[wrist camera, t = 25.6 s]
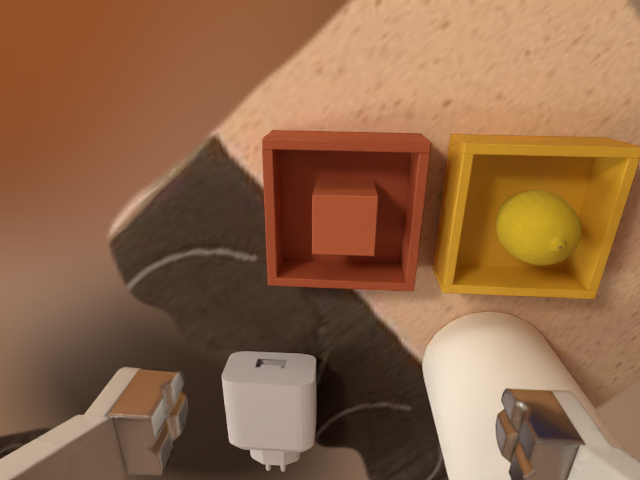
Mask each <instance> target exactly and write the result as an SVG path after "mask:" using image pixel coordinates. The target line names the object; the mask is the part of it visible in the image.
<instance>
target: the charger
mask: <svg viewBox="0 0 640 480" xmlns="http://www.w3.org/2000/svg"><path fill="white" fill-rule="evenodd" d="M222 384H223V392H224V401H225V409H226V418H227V426H228V435H229V442H230V443H231V444H233V445H235V446H237V447H239V448H241V449H246V450H247V449H248V450H250V452H251V456H252V458H253V459H255V460H257V461H258V462H260V463H262V464H266V469H267V470H268V471H269V470H271V465H281V471H283V472H284V471H285V465H287V464H290V463H292V462H295V461H297V460H298V459H299V458H300V452H304V451H306V450H307V449H309V448H311V447H312V446H313V445H314V441H315V429H316V358H315V357H313V356H311V355H307V354H296V353H273V352H250V351H242V352H236V353H233V354H231V355H230V357H229V359H228V362H227V364H226V366H225V369H224V371H223V374H222Z"/></svg>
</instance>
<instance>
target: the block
mask: <svg viewBox="0 0 640 480" xmlns="http://www.w3.org/2000/svg"><path fill="white" fill-rule="evenodd" d="M377 209H378V194H377V190H376V186H375V182H374V180H355V179H317V180H316V184H315V188H314V191H313V195H312V254H328V255H356V256H374V252H375V238H376V223H377Z"/></svg>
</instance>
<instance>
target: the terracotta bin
mask: <svg viewBox="0 0 640 480" xmlns="http://www.w3.org/2000/svg"><path fill="white" fill-rule="evenodd" d="M262 148H263V149H262V156H263V179H264V203H265V226H266V249H267V272H268V285H271V286H295V287H319V288H343V289H367V290H391V291H414V285H415V284H414V283H415V277H416V269H417V260H418V252H419V243H420V235H421V226H422V218H423V209H424V201H425V193H426V184H427V176H428V167H429V159H430V150H431V142H430V141H428V140H427V139H426V138H425V137H424V136H423V135H422V134H416V133H370V132H324V131H278V130H272V131H271V132H270V133H269V134H268V135H266V136H265V137H264V138H263V139H262ZM317 179H355V180H374V182H375V186H376V190H377V194H378V209H377V223H376V238H375V252H374V256H356V255H328V254H312V195H313V191H314V188H315V184H316V180H317Z"/></svg>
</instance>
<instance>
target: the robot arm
mask: <svg viewBox="0 0 640 480" xmlns="http://www.w3.org/2000/svg"><path fill="white" fill-rule="evenodd" d="M183 385H184V378H183V373H182V372H180V371H173V370H161V369H147V368H142V369H141V368H130V367H123V368H121V369H119V370H118V371H117V372H116V374H115V375H114V376H113V378H112V379H111V381H110V382H109V383H108V384H107V385H106V387H105V388H104V389H103V391H102V392H101V393H100V395H99V396H98V397H97V399H96V400H95V401H94V402H93V404H92V405H91V406H90V408H89V409H88V410H87V412H86V413H85V414H84V415H77V416H75V417H73V418H71V419H70V420H68V421H66V422H64V423H63V424H61V425H59V426H57V427H56V428H54V429H52V430H51V431H49V432H47V433H45V434H44V435H42V436H40V437H38V438H37V439H35V440H33V441H31V442H30V443H28V444H26V445H24V446H23V447H21V448H19V449H17V450H16V451H14V452H12V453H11V454H9V455H7V456H5V457H4V458H2V459H0V480H123V479H124V478H125V477H126V476H127V475H126V474H139V475H140V474H141V475H162V474H163V472H164V469H165V467H166V465H167V463H168V461H169V458H170V456H171V454H172V452H173V447H172V441H173V440H175V439H176V438H177V437H178V436H180V434H181V432H182V430H183V427H184V425H185V421H186V417H187V397H186V396H185V395H184V394H183V393H182V392H181V389H182V387H183ZM501 402H502V404H503V407H504V409H503V410H502V411H501V412H500V413H498V414H497V419H496V424H495V428H496V439H497V444H498V447H499V450H500V452H501V455H502V456H503V457H504V458H505V459H506V460H508V461H509V462H510V463H511V465H510V469H509V475H510V477H511V480H640V461H639V460H637V459H636V458H634V457H633V456H631V455H629V454H628V453H627V452H625V451H624V450H622V449H621V448H619V447H612V446H611V445H610V443H609V442H608V441H607V439H606V438H605V436H604V435H603V433H602V432H601V431H600V429H599V428H598V426H597V425H596V424H595V422H594V421H593V419H592V418H591V417H590V415H589V414H588V412H587V411H586V410H585V408H584V407H583V405H582V404H581V403H580V401H579V400H578V398H577V397H576V395H575V394H574V393H572V392H571V391H563V390H531V389H509V388H506V389H505V390H504V392H503V394H502V398H501Z"/></svg>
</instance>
